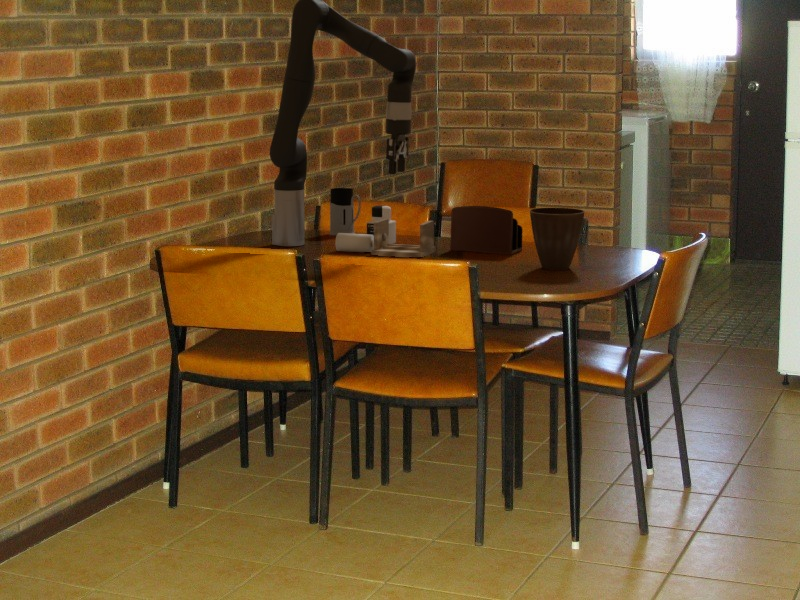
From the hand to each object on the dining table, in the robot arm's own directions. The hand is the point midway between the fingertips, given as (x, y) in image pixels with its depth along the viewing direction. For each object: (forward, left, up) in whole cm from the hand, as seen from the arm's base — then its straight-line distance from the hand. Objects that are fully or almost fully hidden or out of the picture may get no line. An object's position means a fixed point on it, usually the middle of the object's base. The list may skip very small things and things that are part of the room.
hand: (396, 172), depth 359 cm
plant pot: (+51, -14, -24) cm, 58 cm away
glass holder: (-27, +30, -24) cm, 47 cm away
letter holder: (+25, +12, -24) cm, 36 cm away
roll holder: (+3, -3, -24) cm, 24 cm away
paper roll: (-12, -4, -21) cm, 24 cm away
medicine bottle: (-10, +14, -24) cm, 29 cm away
